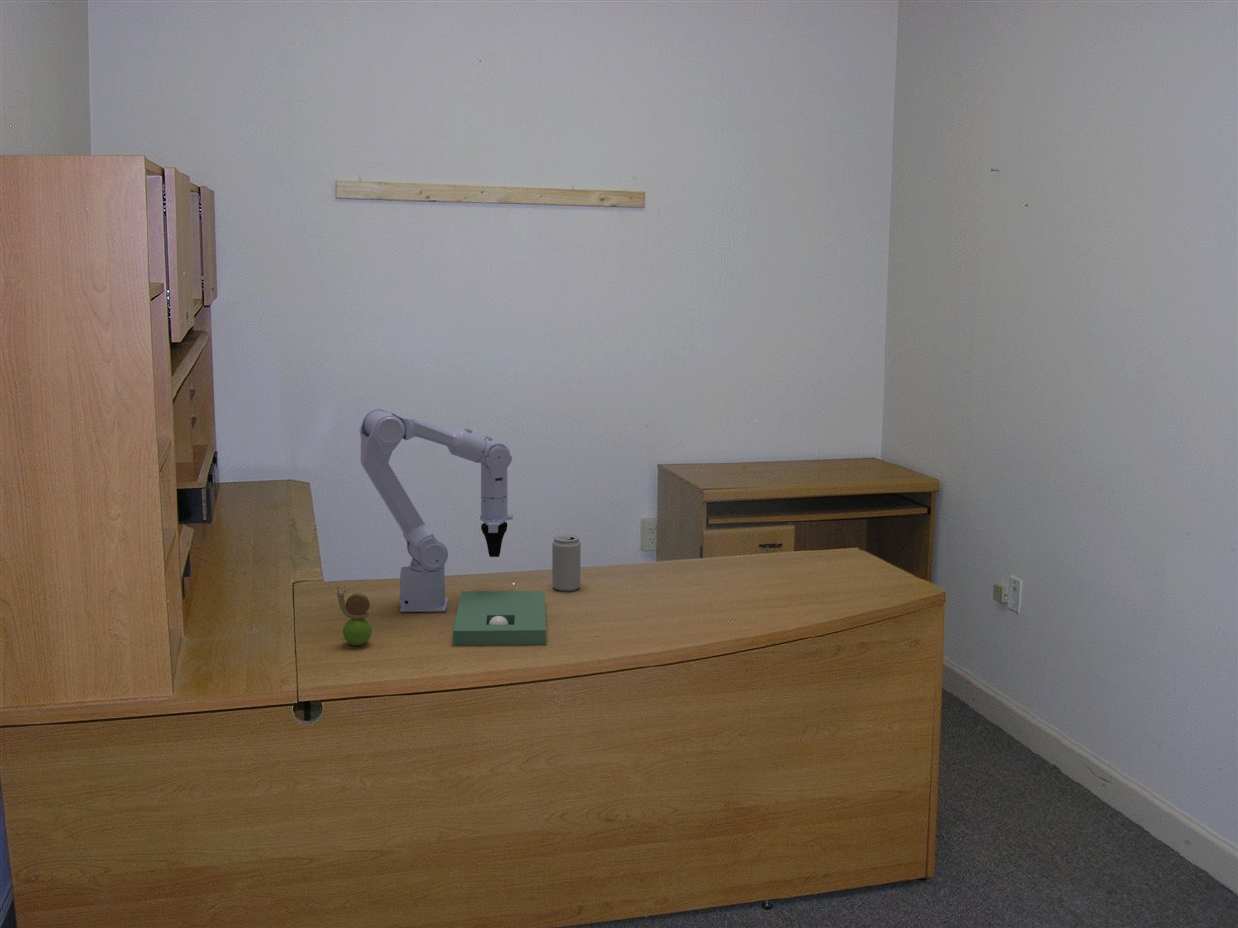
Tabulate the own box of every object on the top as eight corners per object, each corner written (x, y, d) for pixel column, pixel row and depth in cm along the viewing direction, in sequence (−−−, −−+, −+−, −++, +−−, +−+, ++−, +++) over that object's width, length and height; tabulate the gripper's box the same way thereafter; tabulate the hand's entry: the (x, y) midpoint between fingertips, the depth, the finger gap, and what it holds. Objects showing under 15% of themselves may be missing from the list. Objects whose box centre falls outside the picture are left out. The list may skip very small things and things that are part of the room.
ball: (488, 637, 217) (487, 617, 217) (489, 634, 221) (488, 614, 221) (508, 636, 217) (507, 616, 217) (509, 633, 221) (508, 613, 221)
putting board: (453, 645, 213) (453, 630, 213) (461, 604, 237) (461, 591, 236) (545, 644, 215) (545, 630, 214) (544, 604, 238) (544, 590, 238)
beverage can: (576, 593, 246) (577, 542, 243) (548, 591, 247) (549, 539, 245) (583, 584, 252) (583, 534, 249) (556, 582, 253) (556, 532, 251)
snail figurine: (340, 639, 215) (338, 581, 213) (373, 639, 216) (372, 581, 213) (336, 649, 210) (333, 590, 208) (370, 649, 211) (368, 589, 208)
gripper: (512, 504, 231) (512, 565, 234) (513, 488, 245) (513, 546, 248) (478, 503, 230) (478, 565, 233) (481, 488, 244) (482, 546, 247)
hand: (494, 556), depth 240 cm, fingers closed
